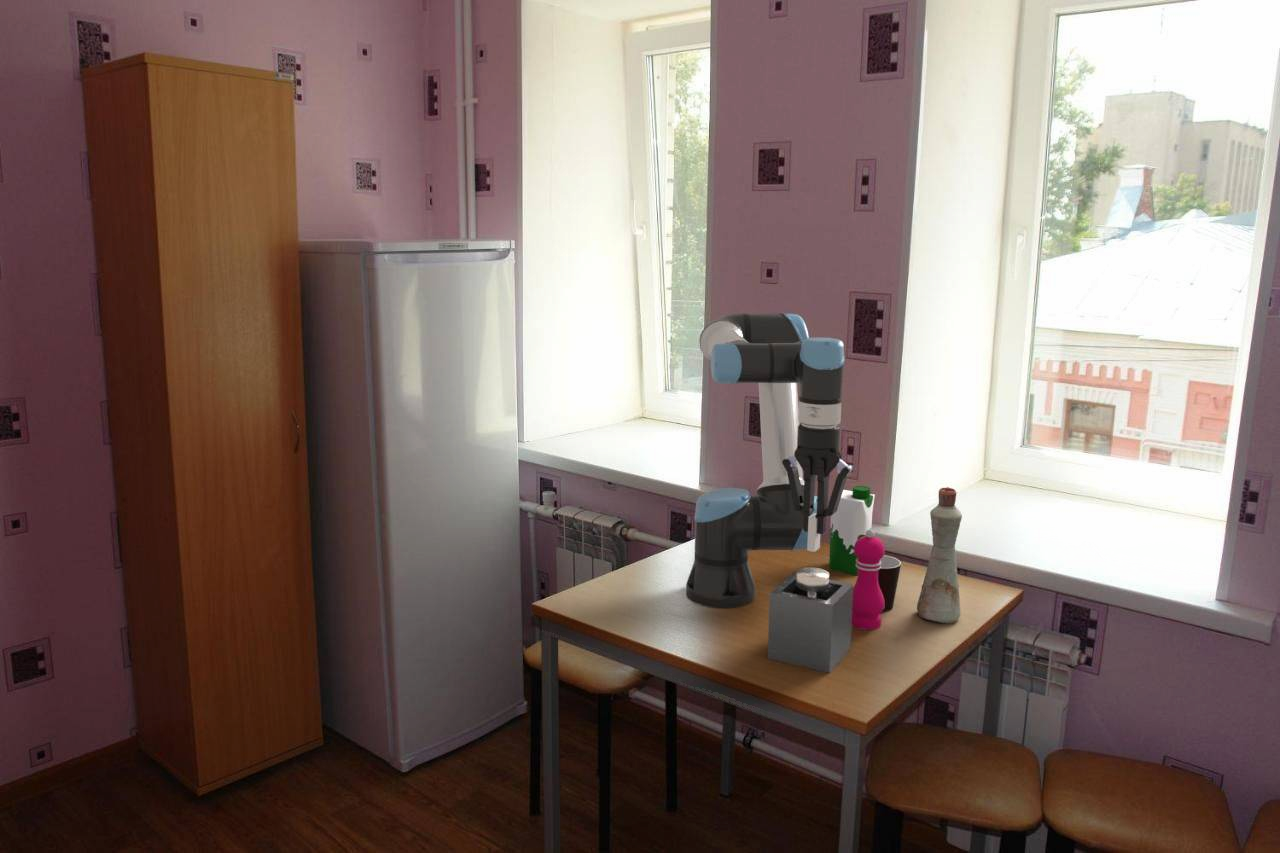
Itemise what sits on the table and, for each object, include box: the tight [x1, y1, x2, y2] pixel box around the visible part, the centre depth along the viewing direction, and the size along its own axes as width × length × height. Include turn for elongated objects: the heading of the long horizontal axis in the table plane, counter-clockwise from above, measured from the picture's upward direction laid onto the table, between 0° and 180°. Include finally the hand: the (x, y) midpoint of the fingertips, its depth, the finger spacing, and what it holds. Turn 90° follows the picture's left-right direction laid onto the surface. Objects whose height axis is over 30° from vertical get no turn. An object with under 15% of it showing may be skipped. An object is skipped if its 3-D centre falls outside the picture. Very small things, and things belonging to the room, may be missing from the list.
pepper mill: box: [851, 528, 886, 631], centre depth 190 cm, size 7×7×20 cm
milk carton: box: [828, 485, 876, 576], centre depth 222 cm, size 9×9×20 cm
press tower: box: [767, 572, 855, 674], centre depth 177 cm, size 12×12×13 cm
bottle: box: [916, 486, 963, 625], centre depth 193 cm, size 9×9×28 cm
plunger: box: [795, 567, 830, 598], centre depth 177 cm, size 8×8×15 cm
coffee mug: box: [878, 554, 902, 613], centre depth 202 cm, size 12×9×10 cm
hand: (813, 549), depth 175 cm, fingers closed
